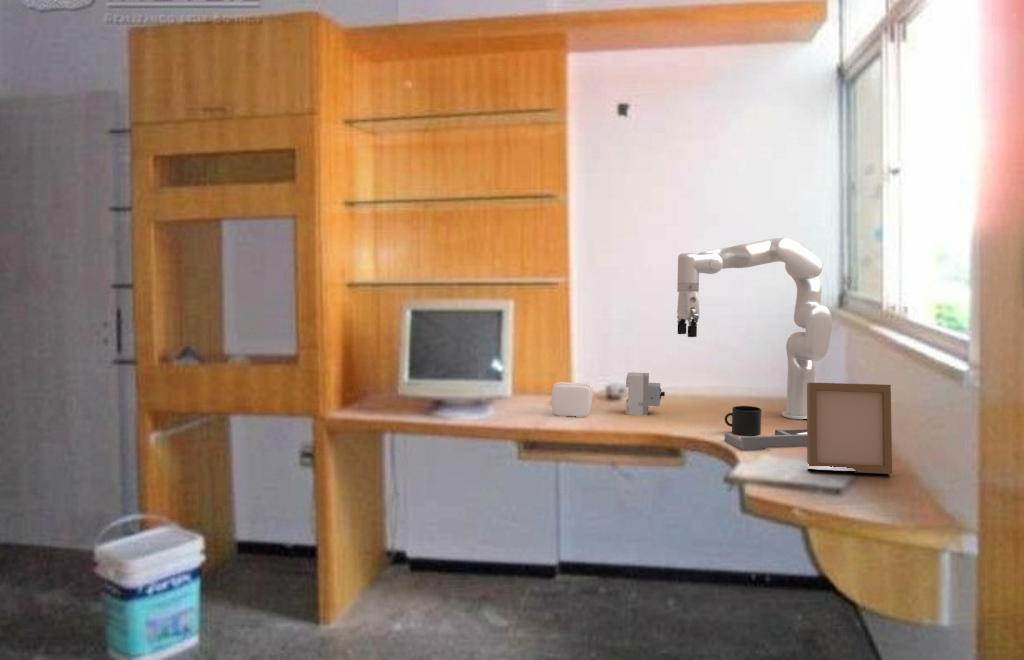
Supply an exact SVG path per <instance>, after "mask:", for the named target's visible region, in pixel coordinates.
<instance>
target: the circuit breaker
mask: <svg viewBox="0 0 1024 660" xmlns="http://www.w3.org/2000/svg"><path fill="white" fill-rule="evenodd" d="M625 379H626V380H625V387H626V388H627V389H628V391H627V399H626V401H625V414H630V415H629V416H643V415H647V414H648V415H649V407H660V406H661V400H662V397H665V393H666V391H662V388H661V382H650V373H649V372H627V374H626V377H625ZM631 414H633V415H631ZM648 415H647V416H648Z"/></svg>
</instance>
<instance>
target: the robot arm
mask: <svg viewBox="0 0 1024 660" xmlns="http://www.w3.org/2000/svg"><path fill="white" fill-rule="evenodd" d="M776 262H778V263H779V262H781V263H782V262H783V263H784V267H785V271H786V273H787V274H788V275H789V276H790V277H791V278H792V279H793V281H794V283H795V285H796V299H795V304H794V305H795V306H794V313H793V322H794V324H795V325H796V326H797V327H799V328H802V329H804V330H805V331H797V332H793V333H792V334H790V336H789V337H788V338H787V341H786V345H785V346H786V347H785V350H786V356H787V378H786V379H787V380H786V381H787V382H786V406H785V407H786V409H785V410H784V411H781V416H782V417H785V418H788V419H792V420H803V419H807V384H808V383H815V378H816V377H815V375H816V367H815V362H817V361H821V360H822V359H824V357H826V356H827V353H828V351H829V346H830V343H831V342H830V341H831V333H832V325H833V316H832V313H831V310H830V309H829V308H828V307H827V306H825V305H823V304H821V302H822V300H821V298H822V282H821V280H820V278H819V277H820V275H821V273H822V271H823V263H822V261H821V259H820V258H819V257H818V256H817V255H816V254H814V253H812V252H811V251H810V250H808V249H806V248H805V247H803V246H802V245H801V244H800V243H798V242H796V241H795V240H793V239H791V238H788V237H774V238H769V239H764V240H760V241H759V240H758V241H754V242H748V243H743V244H738V245H737V244H736V245H733V246H728V247H724V248H719V249H718V248H717V249H712V250H706V251H703V252H702V251H701V252H699V253H691V252H690V253H689V252H686V253H683V252H682V253H680V254H678V257H677V285H676V286H677V290H676V292H677V293H678V297H677V310H676V313H677V316H676V317H677V321H676V322H677V335H687V337H688V338H696V337H697V334H698V321H699V319H700V298H699V290H700V289H699V288H700V286H699V285H700V274H706V275H715V274H717V273H719V272H720V271H722V270H723V269H745V268H752V267H756V266H761V265H766V264H771V263H776ZM687 323H688V324H687Z"/></svg>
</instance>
